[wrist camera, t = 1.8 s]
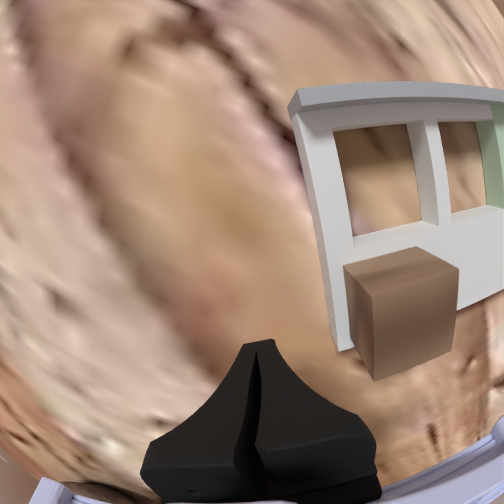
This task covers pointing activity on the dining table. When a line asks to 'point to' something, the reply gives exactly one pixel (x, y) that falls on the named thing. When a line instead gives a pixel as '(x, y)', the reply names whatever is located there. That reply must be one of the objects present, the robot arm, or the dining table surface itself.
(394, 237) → the board
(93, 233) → the dining table surface
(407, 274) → the walnut block
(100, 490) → the cooking pot
